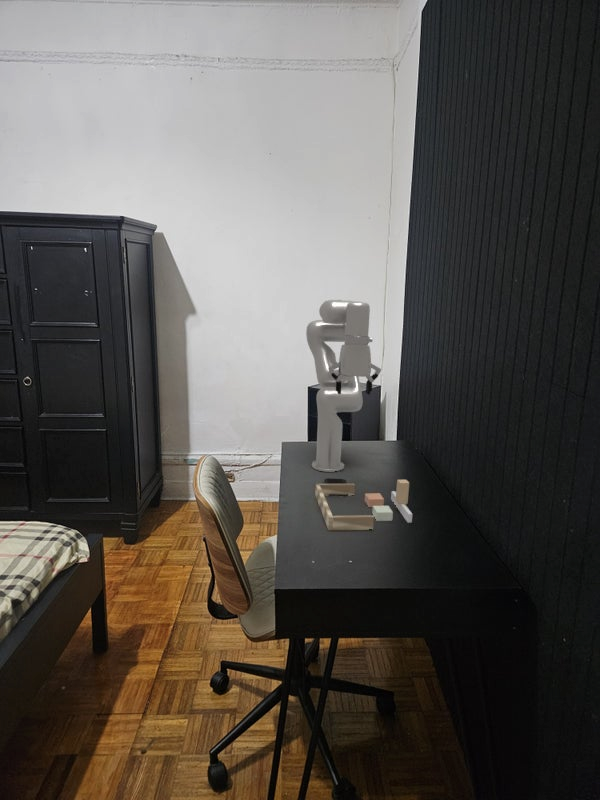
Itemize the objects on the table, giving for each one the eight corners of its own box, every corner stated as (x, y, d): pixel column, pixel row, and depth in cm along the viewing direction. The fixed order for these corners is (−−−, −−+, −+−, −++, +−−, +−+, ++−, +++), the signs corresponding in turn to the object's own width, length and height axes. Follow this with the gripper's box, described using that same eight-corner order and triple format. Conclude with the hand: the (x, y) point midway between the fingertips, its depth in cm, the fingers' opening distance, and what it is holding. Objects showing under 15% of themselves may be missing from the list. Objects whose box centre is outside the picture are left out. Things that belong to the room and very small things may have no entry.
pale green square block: (372, 514, 167) (372, 505, 167) (387, 514, 168) (388, 505, 167) (376, 521, 162) (376, 512, 162) (392, 521, 163) (392, 512, 162)
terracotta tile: (364, 502, 177) (365, 493, 176) (379, 501, 177) (379, 493, 177) (368, 508, 172) (368, 499, 171) (383, 507, 173) (384, 499, 172)
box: (315, 495, 180) (315, 483, 179) (353, 494, 182) (354, 483, 181) (328, 530, 155) (329, 517, 154) (373, 529, 156) (373, 516, 156)
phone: (345, 479, 194) (348, 495, 179) (345, 482, 194) (348, 498, 180) (324, 478, 194) (325, 494, 180) (324, 481, 194) (325, 497, 180)
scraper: (388, 499, 179) (390, 471, 177) (396, 499, 180) (399, 471, 178) (404, 523, 162) (407, 492, 160) (414, 523, 162) (417, 492, 160)
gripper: (379, 340, 177) (376, 391, 180) (327, 339, 175) (325, 391, 178) (385, 342, 169) (382, 396, 173) (331, 341, 168) (329, 395, 171)
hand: (353, 393), depth 175 cm, fingers open, 9 cm apart
